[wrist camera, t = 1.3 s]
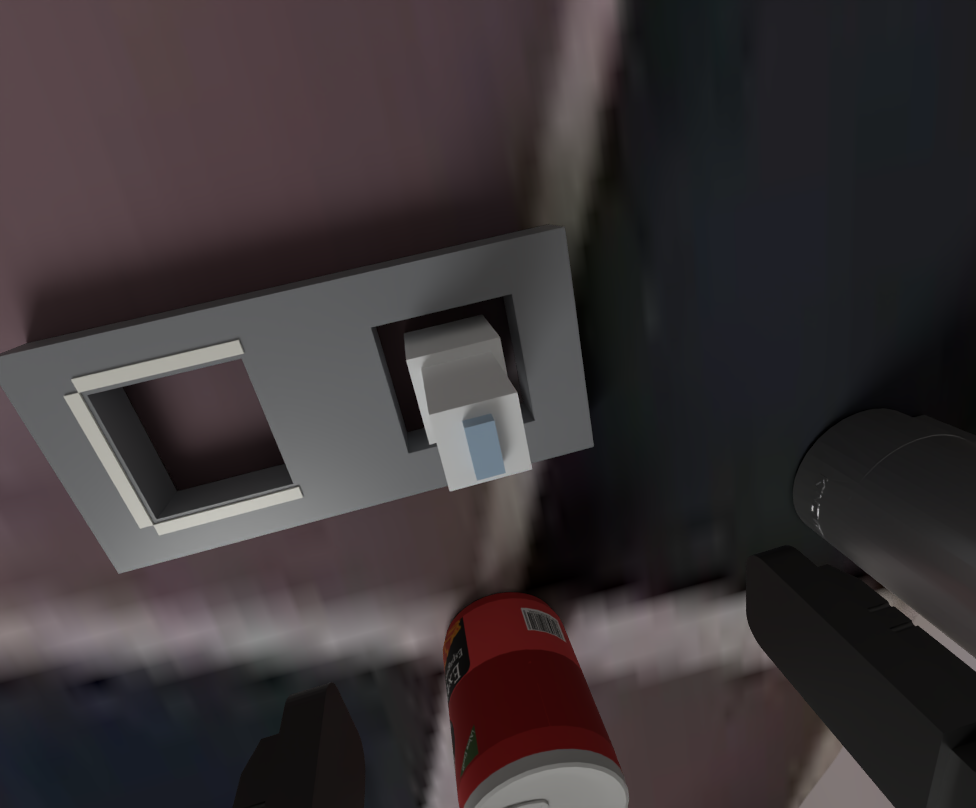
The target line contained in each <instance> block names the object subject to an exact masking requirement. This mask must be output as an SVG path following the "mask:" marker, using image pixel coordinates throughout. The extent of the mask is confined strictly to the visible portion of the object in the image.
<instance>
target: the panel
mask: <svg viewBox="0 0 976 808" xmlns="http://www.w3.org/2000/svg"><path fill="white" fill-rule="evenodd" d="M501 296H503V298H504V303H505V309H506V314H507V319H508V325H509V330H510V335H511V341H512V346H513V351H514V357H515V362H516V367H517V373H518V378H519V383H520V389H521V394H522V399H523V403H520V408H521V414H522V419H523V424H524V429H525V435H526V440H527V445H528V450H529V456H530V461H531V463H534V462H538V461H542V460H546V459H549V458H553V457H557V456H561V455H564V454H568V453H572V452H575V451H579V450H583V449H587V448H590V447H594V444H593V437H592V429H591V421H590V414H589V406H588V399H587V391H586V384H585V376H584V368H583V361H582V353H581V346H580V338H579V330H578V323H577V315H576V308H575V300H574V292H573V285H572V277H571V270H570V262H569V255H568V247H567V239H566V232H565V227H562V226H556V225H550V224H548V225H543V226H539V227H535V228H530V229H526V230H521V231H517V232H513V233H508V234H504V235H500V236H495V237H491V238H486V239H482V240H478V241H473V242H469V243H464V244H460V245H456V246H451V247H447V248H443V249H438V250H434V251H429V252H425V253H421V254H416V255H412V256H407V257H403V258H399V259H394V260H390V261H386V262H381V263H377V264H372V265H368V266H364V267H359V268H355V269H350V270H346V271H342V272H337V273H333V274H329V275H324V276H320V277H315V278H311V279H307V280H302V281H298V282H293V283H289V284H285V285H280V286H276V287H272V288H267V289H263V290H258V291H254V292H250V293H245V294H241V295H236V296H232V297H228V298H223V299H219V300H215V301H210V302H206V303H201V304H197V305H193V306H188V307H184V308H179V309H175V310H171V311H166V312H162V313H158V314H153V315H149V316H144V317H140V318H136V319H131V320H127V321H122V322H118V323H114V324H109V325H105V326H101V327H96V328H92V329H87V330H83V331H79V332H74V333H70V334H65V335H61V336H57V337H52V338H48V339H44V340H39V341H35V342H30V343H26V344H23V345H21V346H18V347H16V348H13V349H11V350H8V351H6V352H3V353H1V354H0V385H1V387H2V389H3V390H4V392H5V393H6V395H7V397H8V398H9V400H10V401H11V403H12V405H13V406H14V408H15V409H16V411H17V413H18V414H19V416H20V417H21V419H22V421H23V422H24V424H25V425H26V427H27V428H28V430H29V432H30V433H31V435H32V436H33V438H34V440H35V441H36V443H37V444H38V446H39V448H40V449H41V451H42V452H43V454H44V456H45V457H46V459H47V460H48V462H49V464H50V465H51V467H52V468H53V470H54V471H55V473H56V475H57V476H58V478H59V479H60V481H61V483H62V484H63V486H64V487H65V489H66V491H67V492H68V494H69V495H70V497H71V499H72V500H73V502H74V503H75V505H76V507H77V508H78V510H79V511H80V513H81V514H82V516H83V518H84V519H85V521H86V522H87V524H88V526H89V527H90V529H91V530H92V532H93V534H94V535H95V537H96V538H97V540H98V542H99V543H100V545H101V546H102V548H103V550H104V551H105V553H106V554H107V556H108V558H109V559H110V561H111V562H112V564H113V565H114V567H115V569H116V570H117V572H118V573H119V574H120V573H123V572H127V571H131V570H134V569H138V568H142V567H146V566H149V565H153V564H157V563H161V562H164V561H168V560H172V559H176V558H179V557H183V556H187V555H191V554H194V553H198V552H202V551H205V550H209V549H213V548H217V547H220V546H224V545H228V544H232V543H235V542H239V541H243V540H247V539H250V538H254V537H258V536H262V535H265V534H269V533H273V532H276V531H280V530H284V529H288V528H291V527H295V526H299V525H303V524H306V523H310V522H314V521H318V520H321V519H325V518H329V517H333V516H336V515H340V514H344V513H347V512H351V511H355V510H359V509H362V508H366V507H370V506H374V505H377V504H381V503H385V502H389V501H392V500H396V499H400V498H404V497H407V496H411V495H415V494H419V493H422V492H426V491H430V490H433V489H437V488H441V487H445V486H448V484H447V480H446V476H445V472H444V469H443V465H442V461H441V458H440V454H439V450H438V447H437V443H434V444H430V445H429V441H428V437H427V434H426V430H425V428H422V429H418V430H414V431H410V432H407V430H406V427H405V423H404V420H403V417H402V413H401V410H400V406H399V403H398V400H397V396H396V393H395V389H394V386H393V383H392V379H391V376H390V372H389V369H388V366H387V362H386V359H385V355H384V352H383V349H382V345H381V342H380V339H379V335H378V332H377V328H376V326H380V325H384V324H388V323H392V322H396V321H401V320H405V319H409V318H413V317H417V316H422V315H426V314H430V313H434V312H438V311H443V310H447V309H451V308H455V307H459V306H464V305H468V304H472V303H476V302H480V301H485V300H489V299H493V298H497V297H501ZM241 358H242V361H243V363H244V365H245V368H246V370H247V373H248V375H249V377H250V380H251V382H252V385H253V387H254V390H255V392H256V394H257V397H258V399H259V402H260V404H261V406H262V409H263V411H264V414H265V416H266V419H267V421H268V423H269V426H270V428H271V431H272V433H273V435H274V438H275V440H276V443H277V445H278V447H279V450H280V452H281V455H282V457H283V460H284V462H285V464H282V465H278V466H274V467H270V468H266V469H262V470H258V471H255V472H251V473H247V474H243V475H239V476H235V477H231V478H227V479H223V480H220V481H216V482H212V483H208V484H204V485H200V486H196V487H192V488H188V489H184V490H181V491H177V490H176V488H175V486H174V485H173V483H172V481H171V479H170V477H169V475H168V473H167V471H166V469H165V467H164V466H163V464H162V462H161V460H160V458H159V456H158V454H157V452H156V450H155V448H154V446H153V445H152V443H151V441H150V439H149V437H148V435H147V433H146V431H145V429H144V427H143V426H142V424H141V422H140V420H139V418H138V416H137V414H136V412H135V410H134V408H133V406H132V405H131V403H130V401H129V399H128V397H127V395H126V393H125V391H124V389H123V387H124V386H128V385H132V384H136V383H140V382H145V381H149V380H153V379H157V378H161V377H166V376H170V375H174V374H178V373H182V372H187V371H191V370H195V369H199V368H203V367H208V366H212V365H216V364H220V363H224V362H229V361H233V360H237V359H241Z"/></svg>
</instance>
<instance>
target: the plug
mask: <svg viewBox="0 0 976 808" xmlns="http://www.w3.org/2000/svg"><path fill="white" fill-rule="evenodd" d="M404 342H405V354H406V362H407V365H408V369H409V373H410V376H411V380H412V383H413V387H414V391H415V394H416V398H417V401H418V405H419V409H420V412H421V416H422V419H423V423H424V427H425V430H426V434H427V437H428V441H429V445H430V444H434V443H437V447H438V450H439V454H440V458H441V461H442V465H443V469H444V472H445V476H446V480H447V484H448V487H449V491H453V490H457V489H461V488H464V487H468V486H472V485H476V484H479V483H483V482H487V481H490V480H494V479H498V478H502V477H505V476H509V475H513V474H517V473H520V472H524V471H528V470H531V469H532V466H531V461H530V456H529V450H528V445H527V440H526V435H525V429H524V424H523V419H522V414H521V408H520V403H519V398H518V393H517V391H516V389H515V388H514V386H513V385H512V383H511V382H510V380H509V379H508V375H507V370H506V365H505V360H504V355H503V350H502V345H501V340H500V337H499V335H498V334H497V333H496V331H495V330H494V329H493V328H492V326H491V325H490V324H489V322H488V321H487V320H486V319H485V317H484V316H483V315H478V316H474V317H470V318H465V319H461V320H457V321H453V322H449V323H445V324H440V325H436V326H432V327H428V328H424V329H420V330H415V331H411V332H407V333H404Z"/></svg>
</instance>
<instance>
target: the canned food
mask: <svg viewBox="0 0 976 808" xmlns="http://www.w3.org/2000/svg"><path fill="white" fill-rule="evenodd" d="M443 660H444V670H445V679H446V689H447V698H448V707H449V717H450V726H451V736H452V745H453V755H454V764H455V773H456V783H457V792H458V801H459V807H460V808H628V802H629V794H628V788H627V786H626V783H625V779H624V775H623V772H622V770H621V767H620V765H619V762H618V760H617V757H616V754H615V751H614V748H613V746H612V744H611V741H610V739H609V736H608V734H607V731H606V729H605V726H604V724H603V722H602V719H601V717H600V714H599V712H598V709H597V707H596V704H595V702H594V700H593V697H592V695H591V692H590V690H589V687H588V685H587V682H586V680H585V677H584V675H583V673H582V670H581V668H580V665H579V663H578V660H577V658H576V655H575V653H574V651H573V648H572V646H571V643H570V641H569V638H568V636H567V633H566V631H565V628H564V626H563V624H562V622H561V620H560V618H559V616H558V615H557V614H556V613H555V612H554V611H553V610H552V609H551V608H550V607H549V605H548V604H547V603H545V602H544V601H542V600H541V599H539V598H537V597H535V596H532V595H529V594H525V593H519V592H506V593H497V594H494V595H490V596H486V597H484V598H481V599H479V600H477V601H475V602H473V603H472V604H470V605H468V606H467V607H465V608H464V609H463V610H462V611H461V612H460V613H459V614H458V615H457V616H456V617H455V618H454V620H453V621H452V622H451V624H450V626H449V628H448V630H447V634H446V638H445V642H444V647H443Z"/></svg>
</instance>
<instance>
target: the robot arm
mask: <svg viewBox="0 0 976 808" xmlns="http://www.w3.org/2000/svg"><path fill="white" fill-rule="evenodd" d="M793 503H794V507H795V509H796V512H797V514H798V516H799V517H800V518H801V520H802V521H803V522H804V523H805V524H806V525H807V526H809V527H810V528H811V529H813V530H814V531H815V532H816V533H818V534H819V535H820V536H821V537H823V538H824V539H825V540H826V541H828V542H829V543H830V544H831V545H833V546H834V547H835V548H837V549H838V550H839V551H840V552H842V553H843V554H844V555H845V556H847V557H848V558H849V559H850V560H852V561H853V562H854V563H855V564H856V565H858V566H859V567H860V568H861V569H863V570H864V571H865V572H867V573H868V574H869V575H870V576H872V577H873V578H874V579H875V580H877V581H878V582H879V583H881V584H882V585H883V586H884V587H886V588H887V589H888V590H889V591H891V592H892V593H893V594H895V595H896V596H897V597H898V598H900V599H901V600H902V601H903V602H905V603H906V604H907V605H908V606H910V607H911V608H912V609H914V610H915V611H916V612H917V613H919V614H920V615H921V616H922V617H924V618H925V619H926V620H928V621H929V622H930V623H932V624H933V625H934V626H935V627H937V628H938V629H939V630H940V631H942V632H943V633H944V634H945V635H947V636H948V637H949V638H950V639H952V640H953V641H954V642H956V643H957V644H958V645H959V646H961V647H962V648H963V649H965V650H966V651H967V652H968V653H969V654H971V655H972V656H973V657H975V658H976V436H975V435H973V434H970V433H968V432H965V431H963V430H961V429H958V428H956V427H953V426H951V425H948V424H946V423H943V422H941V421H938V420H936V419H933V418H931V417H928V416H926V415H921V416H917V417H911V416H908V415H906V414H904V413H901V412H899V411H896V410H891V409H886V408H882V409H870V410H866V411H862V412H859V413H856V414H854V415H852V416H849V417H847V418H845V419H843V420H842V421H840V422H839V423H837V424H836V425H834V426H833V427H831V428H830V429H829V430H828V431H826V432H825V433H824V434H823V435H822V436H821V437H820V438H819V439H818V440H817V441H816V442H815V443H814V445H813V446H812V447H811V448H810V450H809V451H808V452H807V454H806V456H805V457H804V459H803V461H802V462H801V464H800V466H799V469H798V472H797V474H796V477H795V481H794V487H793ZM746 615H747V620H748V624H749V627H750V629H751V631H752V634H753V635H754V637H755V639H756V641H757V642H758V644H759V645H760V647H761V648H762V649H763V651H764V652H765V653H766V654H767V655H768V656H769V658H770V659H771V660H772V661H773V662H774V664H775V665H776V666H777V667H778V668H779V670H780V671H781V672H782V673H783V674H784V676H785V677H786V678H787V679H788V680H789V682H790V683H791V684H792V685H793V686H794V688H795V689H796V690H797V691H798V692H799V693H800V695H801V696H802V697H803V698H804V699H805V701H806V702H807V703H808V704H809V705H810V707H811V708H812V709H813V710H814V711H815V713H816V714H817V715H818V716H819V717H820V719H821V720H822V721H823V722H824V723H825V725H826V726H827V727H828V728H829V729H830V731H831V732H832V733H833V734H834V735H835V736H836V738H837V739H838V740H839V741H840V742H841V744H842V745H843V746H844V747H845V748H846V750H847V751H848V752H849V753H850V754H851V755H852V757H853V758H854V759H855V760H856V761H857V763H858V764H859V765H860V766H861V768H863V770H864V771H865V772H866V773H867V775H868V776H869V777H870V778H871V779H872V781H873V782H874V783H875V784H876V785H877V786H878V788H879V789H880V790H881V791H882V793H883V794H884V795H885V796H886V797H887V799H888V800H889V801H890V802H891V803H892V805H893V806H894V807H895V808H976V672H975V671H974V670H973V669H972V668H970V667H969V666H968V665H967V664H965V663H964V662H963V661H962V660H960V659H959V658H958V657H956V656H955V655H954V654H953V653H952V652H950V651H949V650H948V649H947V648H945V647H944V646H943V645H942V644H940V643H939V642H938V641H937V640H935V639H934V638H933V637H932V636H930V635H929V634H928V633H927V632H925V631H924V630H923V629H922V628H920V627H919V626H914V624H913V623H912V620H910V619H909V618H908V617H907V616H905V615H904V614H903V613H902V612H900V611H899V610H898V609H897V608H895V607H894V606H893V607H891V606H890V605H889V603H888V601H887V600H885V599H884V598H883V597H882V596H880V595H879V594H878V593H877V592H875V591H874V590H873V589H872V588H870V587H869V586H868V585H867V584H865V583H864V582H863V581H862V580H860V579H858V578H856V577H854V576H852V575H850V574H847V573H845V572H843V571H841V570H839V569H837V568H835V567H832V566H830V565H828V564H826V565H823V566H820V567H817V566H816V565H815V564H814V563H812V562H811V561H810V560H809V559H808V558H807V557H805V556H804V555H803V554H802V553H801V552H799V551H798V550H797V549H796V548H794V547H792V546H789V545H785V546H781V547H778V548H775V549H772V550H768V551H765V552H762V553H758V554H755V555H752V556H750V557H748V559H747V562H746ZM364 794H365V760H364V752H363V747H362V742H361V739H360V736H359V733H358V731H357V729H356V727H355V725H354V723H353V721H352V718H351V716H350V714H349V712H348V710H347V708H346V706H345V703H344V701H343V699H342V697H341V695H340V693H339V691H338V689H337V687H336V685H335V684H334V683H328V684H325V685H322V686H319V687H315V688H312V689H309V690H306V691H302V692H299V693H296V694H292V695H290V696H289V697H288V699H287V701H286V703H285V707H284V712H283V717H282V722H281V727H280V732H279V734H276V735H273V736H270V737H266V738H263V739H261V741H260V742H259V744H258V746H257V748H256V749H255V751H254V753H253V755H252V756H251V758H250V760H249V761H248V763H247V765H246V767H245V768H244V770H243V772H242V774H241V777H240V781H239V785H238V789H237V793H236V796H235V800H234V804H233V808H364Z"/></svg>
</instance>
